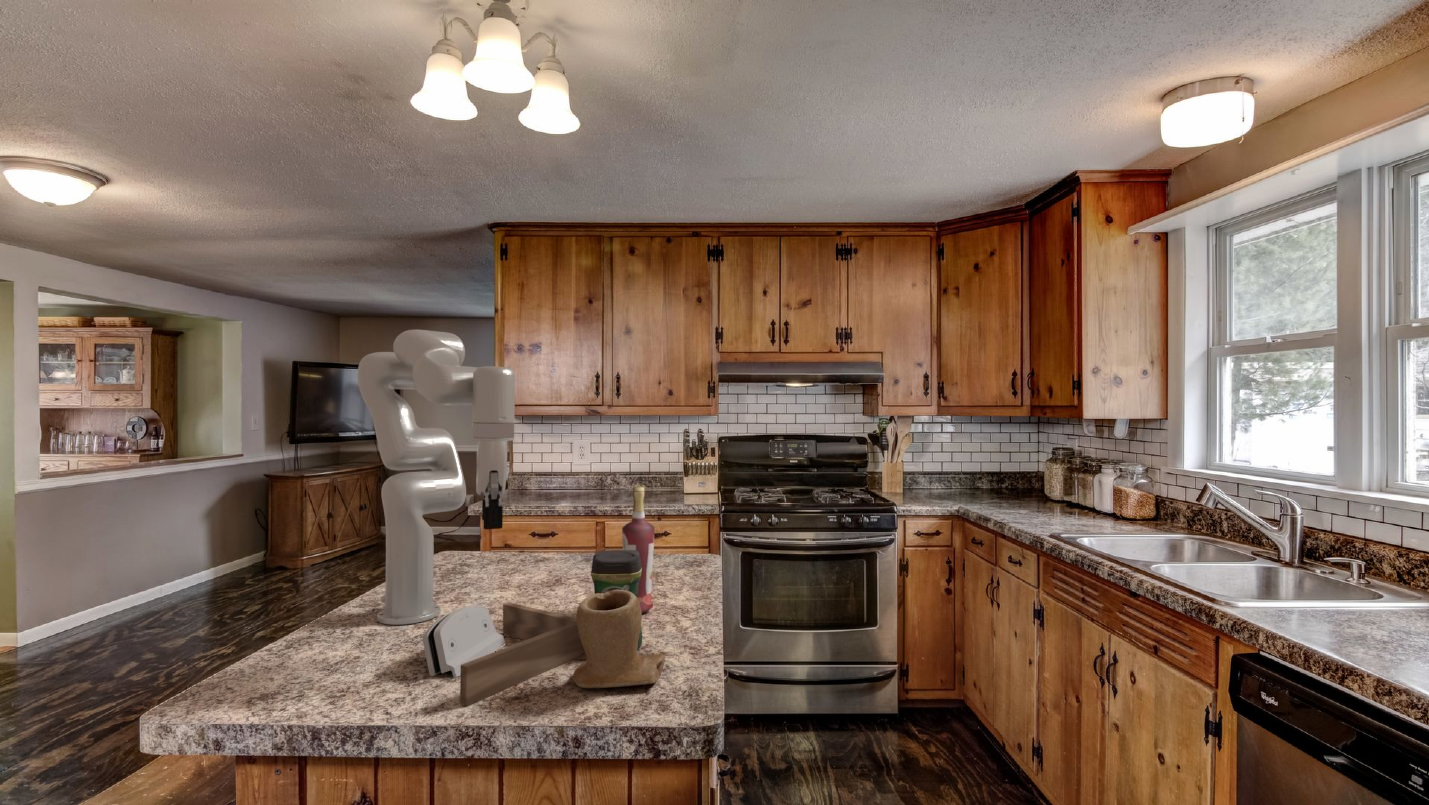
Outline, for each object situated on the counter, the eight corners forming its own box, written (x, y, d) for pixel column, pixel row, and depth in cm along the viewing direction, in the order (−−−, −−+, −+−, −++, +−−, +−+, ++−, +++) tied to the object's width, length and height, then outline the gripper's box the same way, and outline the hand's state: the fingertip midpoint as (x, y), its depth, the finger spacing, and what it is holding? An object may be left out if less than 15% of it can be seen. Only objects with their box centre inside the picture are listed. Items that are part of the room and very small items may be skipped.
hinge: (455, 678, 108) (438, 621, 109) (431, 686, 109) (414, 628, 109) (507, 644, 124) (491, 594, 125) (486, 650, 125) (470, 601, 126)
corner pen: (385, 675, 109) (386, 640, 109) (508, 632, 131) (509, 602, 131) (466, 706, 97) (466, 667, 98) (586, 653, 119) (586, 620, 120)
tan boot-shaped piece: (567, 701, 100) (567, 604, 100) (577, 670, 111) (578, 584, 112) (665, 698, 101) (665, 602, 101) (665, 668, 112) (665, 582, 113)
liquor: (658, 614, 143) (658, 488, 143) (626, 618, 140) (627, 489, 141) (648, 605, 150) (649, 484, 150) (618, 608, 147) (618, 486, 147)
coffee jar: (643, 640, 126) (644, 546, 126) (640, 655, 118) (640, 554, 118) (594, 641, 126) (595, 546, 126) (587, 656, 118) (587, 555, 118)
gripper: (471, 431, 127) (470, 517, 126) (472, 434, 111) (470, 534, 110) (511, 430, 129) (509, 515, 129) (517, 434, 113) (516, 531, 113)
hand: (491, 524), depth 120 cm, fingers open, 9 cm apart
